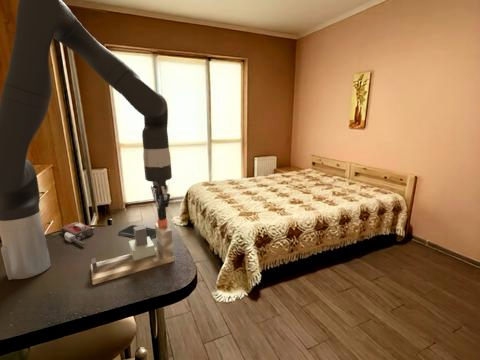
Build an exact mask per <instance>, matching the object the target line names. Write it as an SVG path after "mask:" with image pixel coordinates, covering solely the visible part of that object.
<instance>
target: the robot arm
mask: <svg viewBox="0 0 480 360" xmlns="http://www.w3.org/2000/svg"><path fill="white" fill-rule="evenodd" d="M54 39H55V40H56V41H57V42H59V43H60V44H62V45H64V46H65V47H67V48H68V49H70V50H71V51H73V52H74V53H75V54H76V55H78V56H79V57H80V58H81V59H83V60H84V61H85V62H86V63H87V64H88V66H89V67H90V68H91V69H92V70H93V71H94V72H95V73H96V74H97V75H98V76H99V77H100V78H101V79H102V80H104V81H105V82H106V84H108V85H110V87H112V88H113V89H114V90H115V91H116V92H118V93H119V94H120V95H121V96H123V98H124V99H125V100H126V101H127V102H128V103H129V104H130V105H131V106H132V107H133V108H134V110H136V111H137V112H138V113H139V114H141V115H142V116H143V118H144V119H143V121H144V122H143V123H144V124H143V125H144V128H143V129H142V134H141V137H142V148H143V154H142V156H143V157H142V158H143V168H144V178H145V180H146V181H147V182H151V183H152V185H151V186H150V189H151V193H152V197H153V202H154V204H155V206H156V208H157V209H156V212H157V218H158V219H159V220H163V219H166V218H167V209H166V208H168V207H169V203H170V200H171V199H170V197H171V195H170V194H171V193H168V191H169V187H168V186H169V185H167V183H166V182H167V181H168V180H171V179H172V176H173V174H172V161H171V160H172V159H171V152H170V145H169V135H168V125H169V124H168V122H169V118H168V117H169V108H168V103H167V100H166V98H165V97H164V96H163V95H161V94H160V93H157V92H156V91H155V90H153V88H151V87H150V86H149V85H148V84H147V83H145V82H144V81H143V80H142V79H141V78H140V77H139V74H137V73H136V72H135V71H134V70H133V69H132V68H131V67H129V66H128V65H127V64H126V63H125V62H124V61H123V60H122V59H121V58H119V57H118V56H117V55H116V54H115V53H113V52H112V51H110V49H108V48H106V47H105V46H104V45H103V44H101V43H100V42H99V41H98V40H97V39H96V38H95V37H94V36H92V35H91V34H90V32H89V31H88V30H87V29H86V28H85V27H84V26H83V24H82V23H81V22H80V21H79V20H78V18H77V17H76V16H75V15H74V14H73V12H72V10H71V9H70V7H68V6H67V5H66V4H65V2H64V1H63V0H18V3H17V9H16V19H15V33H14V40H13V44H12V45H13V46H12V49H11V55H10V59H9V64H8V69H7V72H6V76H5V79H4V83H3V87H2V91H1V95H0V240H1V244H2V246H1V248H0V251H1V256H2V259H3V263H4V264H3V265H4V267H5V272H6V275H7V279H8V281H10V280H22V279H28V278H29V279H30V278H32V277H35V276H37V275H40V274H41V273H44V272H45V271H46V270H49V269H50V267H51V259H50V253H49V249H48V244H47V240H46V235H45V229H44V224H43V220H42V215H41V211H40V202H41V201H40V200H41V198H40V196H41V194H40V188H39V182H38V177H37V173H36V172H37V171H36V169H35V167H34V165H33V164H32V162H31V161H29V160H28V159H27V156H28V152H29V148H30V146H31V143H32V142H33V141H32V140H33V139H34V137H35V136H36V135H37V133H38V131H39V129H40V128H41V126H42V125H43V122H44V120H45V118H46V116H47V113H48V110H49V107H50V102H51V99H52V94H53V83H52V81H53V79H52V75H51V68H50V51H51V47H52V43H53V40H54Z"/></svg>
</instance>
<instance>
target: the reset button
mask: <svg viewBox="0 0 480 360" xmlns="http://www.w3.org/2000/svg"><path fill="white" fill-rule="evenodd" d="M157 223H158V228H166V227H167V226H168V227H169V225H168V218H167V217H166V219H163V220H159V218H158V219H157Z"/></svg>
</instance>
